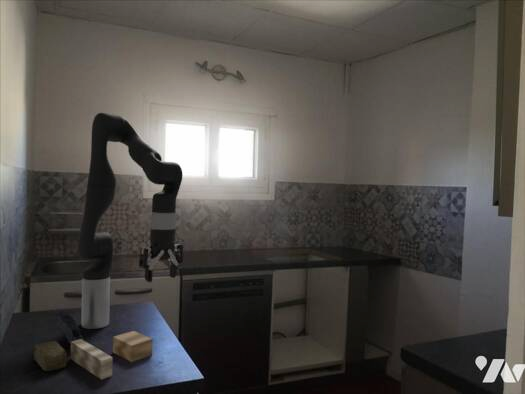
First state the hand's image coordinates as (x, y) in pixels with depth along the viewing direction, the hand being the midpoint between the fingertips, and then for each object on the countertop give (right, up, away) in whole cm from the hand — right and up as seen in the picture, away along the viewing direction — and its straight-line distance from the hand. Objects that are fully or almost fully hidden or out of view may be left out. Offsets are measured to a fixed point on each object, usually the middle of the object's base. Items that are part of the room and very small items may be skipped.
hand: (161, 279), depth 125 cm
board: (-17, -22, -12) cm, 30 cm away
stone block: (-29, -22, -10) cm, 38 cm away
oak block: (-8, -22, -2) cm, 24 cm away
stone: (-30, -21, +3) cm, 37 cm away
